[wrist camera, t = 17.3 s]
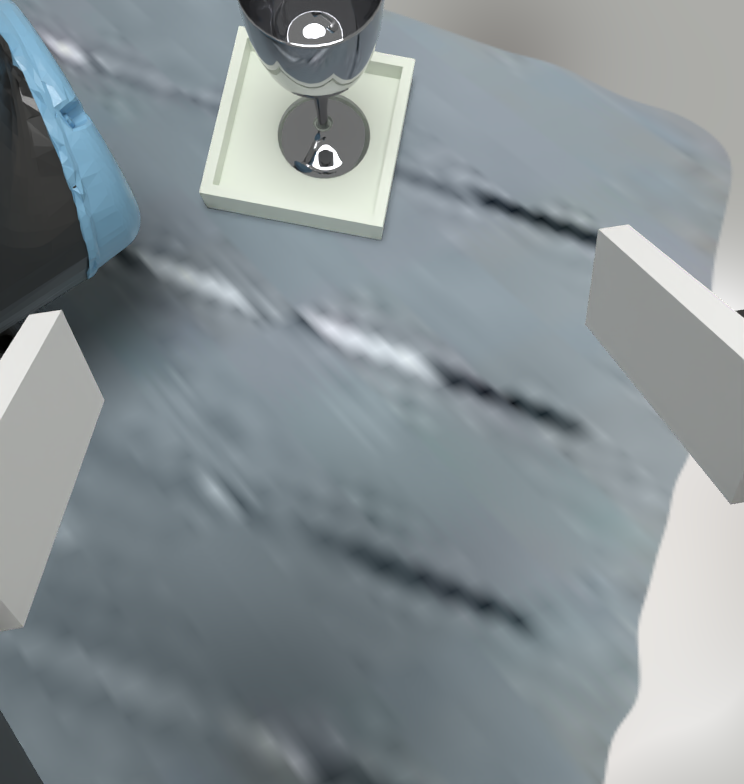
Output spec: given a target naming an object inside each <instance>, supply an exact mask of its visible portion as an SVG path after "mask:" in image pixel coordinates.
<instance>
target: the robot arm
mask: <svg viewBox="0 0 744 784" xmlns="http://www.w3.org/2000/svg"><path fill="white" fill-rule="evenodd" d="M139 228H140V212H139V208H138V205H137V202H136V200H135V197H134V195H133V193H132V191H131V189H130V187H129V185H128V183H127V181H126V179H125V177H124V175H123V174H122V172H121V170H120V168H119V166H118V164H117V163H116V161H115V159H114V157H113V155H112V154H111V152H110V150H109V148H108V147H107V145H106V143H105V141H104V140H103V138H102V136H101V135H100V133H99V131H98V130H97V128H96V126H95V125H94V123H93V122H92V120H91V119H90V117H89V116H88V115H87V114H86V113H85V112H84V110H83V106H82V104H81V102H80V101H79V99H78V98H77V96H76V95H75V93H74V91H73V89H72V87H71V85H70V83H69V81H68V80H67V78H66V77H65V75H64V73H63V72H62V70H61V69H60V67H59V65H58V64H57V62H56V61H55V59H54V58H53V56H52V54H51V53H50V51H49V50H48V48H47V47H46V45H45V44H44V42H43V41H42V39H41V38H40V36H39V35H38V33H37V32H36V30H35V29H34V28H33V26H32V25H31V23H30V22H29V20H28V19H27V18H26V17H25V15H24V14H23V13H22V11H21V10H20V9H19V8H18V7H17V5H16V4H15V3H14V2H12V1H11V0H0V631H6V630H11V629H17V628H23V627H24V625H25V622H26V619H27V616H28V613H29V611H30V608H31V605H32V602H33V599H34V597H35V594H36V591H37V588H38V585H39V583H40V580H41V577H42V574H43V571H44V569H45V566H46V563H47V560H48V557H49V555H50V552H51V549H52V546H53V543H54V541H55V538H56V535H57V532H58V529H59V527H60V524H61V521H62V518H63V515H64V513H65V510H66V507H67V504H68V501H69V499H70V496H71V493H72V490H73V487H74V485H75V482H76V479H77V476H78V473H79V471H80V468H81V465H82V462H83V459H84V456H85V454H86V451H87V448H88V445H89V442H90V440H91V437H92V434H93V431H94V428H95V426H96V423H97V420H98V417H99V414H100V412H101V409H102V406H103V403H104V398H103V396H102V394H101V392H100V390H99V387H98V385H97V383H96V381H95V379H94V377H93V375H92V373H91V371H90V368H89V366H88V364H87V362H86V360H85V358H84V356H83V354H82V352H81V350H80V347H79V345H78V343H77V341H76V339H75V337H74V335H73V333H72V331H71V328H70V326H69V324H68V322H67V320H66V318H65V316H64V314H63V312H62V310H57V311H51V312H44V313H37V314H32V313H33V312H35V311H36V310H38V309H39V308H41V307H43V306H44V305H46V304H47V303H49V302H51V301H52V300H54V299H55V298H57V297H58V296H60V295H62V294H63V293H65V292H66V291H68V290H70V289H71V288H73V287H74V286H76V285H77V284H79V283H81V282H82V281H84V280H86V279H89V278H91V277H93V276H94V275H95V274H96V272H97V270H98V268H99V267H101V266H102V265H103V264H105V263H106V262H107V261H108V260H110V259H111V258H112V257H114V256H115V255H116V254H118V253H119V252H120V251H122V250H123V249H124V248H126V247H127V246H128V245H129V244H131V243H132V241H133V240H134V239H135V238H136V236H137V234H138V232H139ZM30 314H31V315H30ZM28 315H29V316H28ZM27 316H28V317H27ZM25 317H27V319H26V320H25V322H24V323H23V325H21V324H19V323H18V322H19V321H20V320H22V319H24V318H25ZM585 325H586V326H587V327H588V328H589V330H590V331H591V332H592V333H593V335H594V336H595V337H596V338H597V340H598V341H599V342H600V343H601V345H602V346H603V347H604V348H605V349H606V351H607V352H608V353H609V354H610V356H611V357H612V358H613V359H614V361H615V362H616V363H617V364H618V366H619V367H620V368H621V369H622V370H623V372H624V373H625V374H626V375H627V377H628V378H629V379H630V380H631V382H632V383H633V384H634V385H635V387H636V388H637V389H638V390H639V392H640V393H641V394H642V395H643V396H644V398H645V399H646V400H647V401H648V403H649V404H650V405H651V406H652V408H653V409H654V410H655V411H656V413H657V414H658V415H659V416H660V418H661V419H662V420H663V421H664V422H665V424H666V425H667V426H668V427H669V429H670V430H671V431H672V432H673V434H674V435H675V436H676V437H677V439H678V440H679V441H680V442H681V443H682V445H683V446H684V447H685V448H686V450H687V451H688V452H689V453H690V455H691V456H692V457H693V458H694V459H695V461H696V462H697V463H698V465H699V466H700V467H701V468H702V469H703V471H704V472H705V473H706V474H707V476H708V477H709V478H710V479H711V481H712V482H713V483H714V484H715V485H716V487H717V488H718V489H719V491H721V493H722V494H723V495H724V497H725V498H726V499H727V500H728V502H729V503H730V504H736V503H742V502H744V310H738V311H735V310H733V309H732V308H731V307H730V306H728V305H727V304H726V303H725V302H724V301H722V300H721V299H720V298H719V297H717V296H716V295H715V294H714V293H712V292H711V291H710V290H709V289H707V288H706V287H705V286H704V285H703V284H701V283H700V282H699V281H698V280H696V279H695V278H694V277H693V276H691V275H690V274H689V273H688V272H686V271H685V270H684V269H683V268H682V267H680V266H679V265H678V264H677V263H675V262H674V261H673V260H672V259H670V258H669V257H668V256H667V255H665V254H664V253H663V252H662V251H661V250H659V249H658V248H657V247H656V246H654V245H653V244H652V243H651V242H649V241H648V240H647V239H646V238H644V237H643V236H642V235H641V234H639V233H638V232H637V231H636V230H635V229H633V228H632V227H631V226H630V225H622V226H615V227H609V228H602V229H598V236H597V243H596V250H595V258H594V265H593V272H592V279H591V286H590V294H589V301H588V308H587V315H586V323H585ZM0 784H43V782H42V780H41V779H40V777H39V775H38V774H37V772H36V770H35V768H34V767H33V765H32V763H31V762H30V760H29V758H28V757H27V755H26V753H25V751H24V750H23V748H22V746H21V745H20V743H19V741H18V740H17V738H16V736H15V734H14V733H13V731H12V729H11V728H10V726H9V724H8V723H7V721H6V719H5V717H4V716H3V714H2V712H1V711H0Z"/></svg>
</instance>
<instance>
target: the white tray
mask: <svg viewBox="0 0 744 784" xmlns="http://www.w3.org/2000/svg"><path fill="white" fill-rule="evenodd" d="M414 64H415V59H411V58H406V57H400V56H395V55H390V54H385V53H379V52H374V53H373V55H372V58H371V60H370V63H369V65H368V67H367V68H366V70H365V72H364V73H363V75H362V76H361V78H360V79H359V80H358V81H357V82H356V83H355V84H354V85H353V86H352V87H351V88H349V89H348V90H346V91H344V92H343V93H341V94H339V95H342V96H344V97H346V98H348V99H350V100H351V101H353V102H354V103H355V104H356V105H357V106H358V107H359V108H360V109H361V110H362V112H363V113H364V115H365V116H366V119H367V121H368V123H369V128H370V144H369V148H368V150H367V153H366V155H365V156H364V158H363V160H362V161H361V162H360V163H359V164H358V166H356V167H355V168H354V169H353V170H351V171H350V172H348V173H346V174H344V175H341V176H339V177H335V178H329V179H320V178H313V177H310V176H307V175H304V174H302V173H301V172H299V171H297V170H296V169H294V168H293V167H292V166H291V165H290V164H289V163H288V162H287V161H286V159H285V158H284V156H283V155H282V153H281V150H280V147H279V143H278V127H279V123H280V120H281V118H282V116H283V114H284V112H285V111H286V109H287V108H288V107H289V106H290V105H291V104H292V103H293V102H295V101H296V100H297V99H299V98H301V96H298V95H295V94H293V93H291V92H289V91H287V90H285V89H284V88H283V87H282V86H280V85H279V84H278V83H277V82H276V81H275V80H274V79H273V78H272V77H271V75H270V74H269V73H268V72H267V70H266V69H265V67H264V66H263V64H262V62H261V61H260V59H259V58H258V56H257V54H256V52H255V50H254V48H253V46H252V44H251V42H250V39H249V37H248V34H247V32H246V29H245V27H242V26H239V28H238V33H237V37H236V41H235V45H234V49H233V53H232V58H231V62H230V66H229V70H228V74H227V78H226V83H225V87H224V91H223V95H222V99H221V103H220V108H219V112H218V116H217V120H216V124H215V128H214V133H213V137H212V141H211V145H210V149H209V153H208V158H207V162H206V166H205V170H204V174H203V178H202V183H201V187H200V191H199V193H200V195H201V197H202V198H203V200H204V202H205V204H206V206H207V207H208V208H213V209H219V210H224V211H229V212H235V213H240V214H245V215H250V216H256V217H261V218H266V219H272V220H277V221H282V222H287V223H293V224H298V225H303V226H309V227H314V228H319V229H324V230H330V231H335V232H340V233H346V234H351V235H356V236H361V237H367V238H372V239H377V240H381V239H382V233H383V228H384V223H385V218H386V213H387V208H388V203H389V197H390V192H391V187H392V182H393V177H394V172H395V166H396V161H397V156H398V151H399V146H400V141H401V136H402V130H403V125H404V120H405V115H406V110H407V105H408V99H409V94H410V89H411V84H412V78H413V71H414Z"/></svg>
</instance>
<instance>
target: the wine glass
mask: <svg viewBox="0 0 744 784" xmlns="http://www.w3.org/2000/svg"><path fill="white" fill-rule="evenodd" d="M237 1H238V5H239V9H240V13H241V16H242V20H243V23H244V26H245V29H246V32H247V34H248V37H249V39H250V42H251V44H252V46H253V48H254V50H255V52H256V54H257V56H258V58H259V59H260V61H261V62H262V64H263V66H264V67H265V69H266V70H267V72H268V73H269V74H270V75H271V77H272V78H273V79H274V80H275V81H276V82H277V83H278V84H279V85H280V86H282V87H283V88H284V89H285V90H287V91H289V92H291V93H293V94H295V95H298V96H301V98H299V99H297V100H296V101H295V102H293V103H292V104H291V105H290V106H289V107H288V108H287V109H286V111H285V112H284V114H283V116H282V118H281V120H280V123H279V127H278V143H279V147H280V150H281V153H282V155H283V156H284V158H285V159H286V161H287V162H288V163H289V164H290V165H291V166H292V167H293V168H294V169H296V170H297V171H299V172H301V173H302V174H304V175H307V176H310V177H313V178H320V179H329V178H335V177H339V176H341V175H344V174H346V173H348V172H350V171H351V170H353V169H354V168H355V167H356V166H358V164H359V163H360V162H361V161H362V160H363V158H364V156H365V155H366V153H367V150H368V148H369V144H370V128H369V123H368V121H367V119H366V116H365V115H364V113H363V112H362V110H361V109H360V108H359V107H358V106H357V105H356V104H355V103H354V102H353V101H351V100H350V99H348V98H346V97H344V96H342V95H339V94H341V93H343V92H344V91H346V90H348V89H349V88H351V87H352V86H353V85H354V84H355V83H356V82H357V81H358V80H359V79H360V78H361V76H362V75H363V73H364V72H365V70H366V68H367V67H368V65H369V63H370V60H371V58H372V55H373V53H374V50H375V47H376V45H377V41H378V37H379V33H380V30H381V23H382V17H383V9H384V0H237Z"/></svg>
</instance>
